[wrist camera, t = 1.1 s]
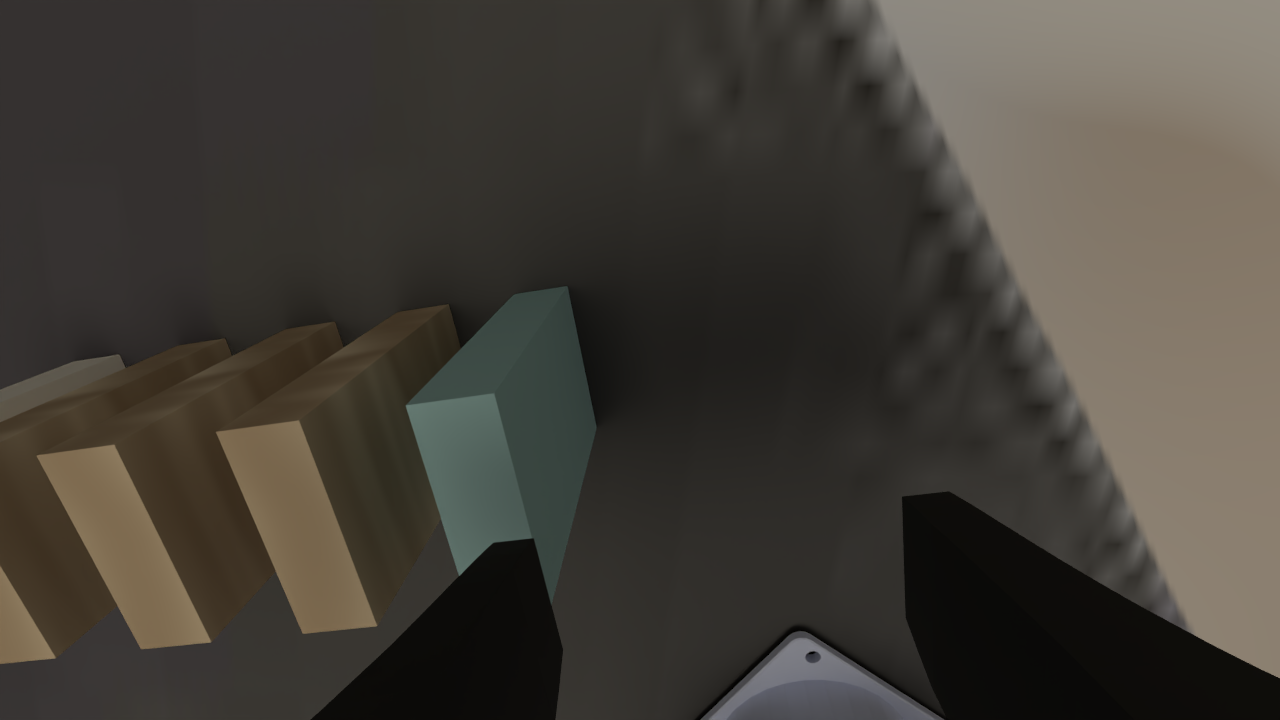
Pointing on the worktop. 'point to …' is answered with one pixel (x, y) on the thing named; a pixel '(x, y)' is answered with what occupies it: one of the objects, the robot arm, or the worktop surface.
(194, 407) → the domino
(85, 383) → the domino
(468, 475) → the domino
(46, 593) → the domino
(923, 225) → the worktop surface
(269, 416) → the domino
